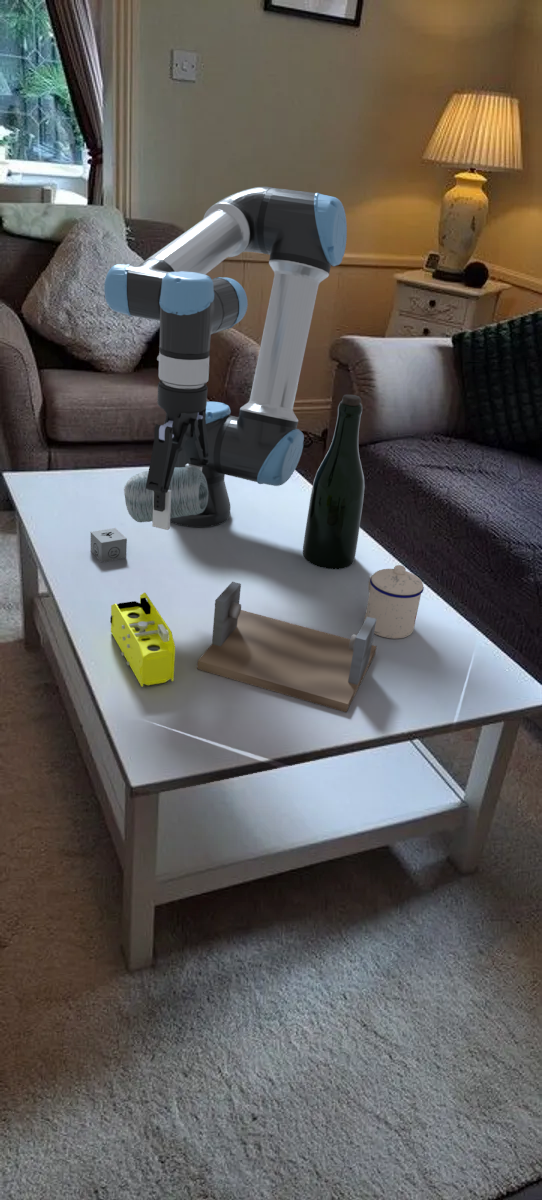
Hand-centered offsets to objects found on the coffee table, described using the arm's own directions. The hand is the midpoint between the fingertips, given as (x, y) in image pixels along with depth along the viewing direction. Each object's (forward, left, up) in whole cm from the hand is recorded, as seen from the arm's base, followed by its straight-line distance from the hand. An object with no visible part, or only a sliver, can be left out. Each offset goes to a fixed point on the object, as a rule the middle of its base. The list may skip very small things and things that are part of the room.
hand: (177, 514), depth 141 cm
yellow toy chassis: (+18, +3, -17) cm, 25 cm away
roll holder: (+7, +24, -17) cm, 30 cm away
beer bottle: (-32, +19, -17) cm, 41 cm away
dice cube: (-10, -18, -17) cm, 27 cm away
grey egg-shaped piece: (-1, 0, -2) cm, 2 cm away
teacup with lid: (-13, +35, -17) cm, 41 cm away
